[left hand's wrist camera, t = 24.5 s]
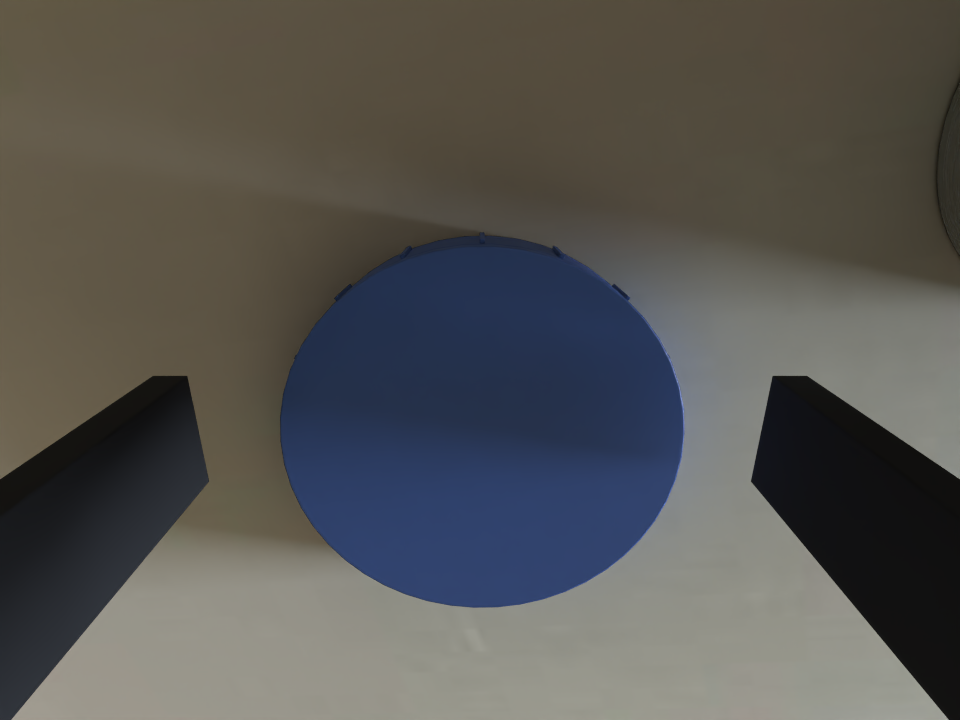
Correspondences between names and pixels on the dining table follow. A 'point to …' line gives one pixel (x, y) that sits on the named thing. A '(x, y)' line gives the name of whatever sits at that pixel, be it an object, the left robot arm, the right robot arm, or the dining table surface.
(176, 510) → the left robot arm
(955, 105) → the jar
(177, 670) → the dining table surface
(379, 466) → the lid
